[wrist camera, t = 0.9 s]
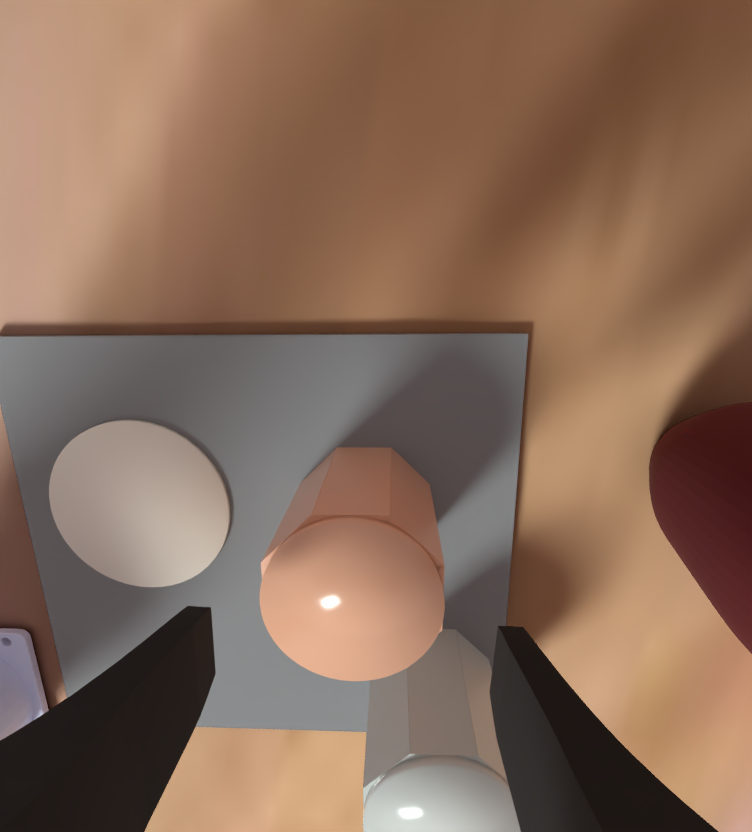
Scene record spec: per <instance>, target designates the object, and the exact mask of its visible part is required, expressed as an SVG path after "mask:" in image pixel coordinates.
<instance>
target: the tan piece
mask: <svg viewBox="0 0 752 832" xmlns="http://www.w3.org/2000/svg"><path fill="white" fill-rule="evenodd" d="M444 567H445V566H444V560H443V555H442V549H441V543H440V538H439V532H438V527H437V521H436V516H435V510H434V505H433V499H432V494H431V488H430V484H429V483H428V482H427V481H426V480H425V479H424V478H423V477H422V476H421V475H420V474H419V473H418V472H417V471H416V470H415V469H414V468H412V467H411V466H410V465H409V464H408V463H407V462H406V461H405V460H404V459H403V458H402V457H401V456H400V455H399V454H398V453H397V452H396V451H395V450H394V449H393V448H382V447H337V448H336V449H335V450H334V451H333V452H331V453H330V454H329V455H328V456H327V457H326V458H325V459H324V460H323V461H322V462H321V463H320V464H319V465H318V466H317V467H316V468H315V469H314V470H313V471H312V472H311V473H310V474H309V475H308V476H307V477H306V478H305V479H304V480H303V481H302V482H301V483H300V485H299V487H298V489H297V491H296V493H295V495H294V497H293V499H292V501H291V503H290V505H289V507H288V509H287V511H286V513H285V515H284V517H283V519H282V521H281V523H280V525H279V527H278V529H277V531H276V533H275V535H274V537H273V539H272V541H271V543H270V545H269V547H268V549H267V551H266V553H265V555H264V557H263V559H262V561H261V573H262V582H261V587H260V609H261V614H262V618H263V621H264V624H265V626H266V628H267V630H268V632H269V634H270V636H271V637H272V639H273V640H274V642H275V643H276V644H277V646H278V647H279V648H280V649H281V650H282V651H283V652H284V653H285V654H286V655H287V656H288V657H289V658H290V659H292V660H293V661H295V662H296V663H297V664H299V665H300V666H302V667H304V668H306V669H307V670H309V671H312V672H314V673H316V674H319V675H322V676H325V677H328V678H332V679H338V680H344V681H368V680H375V679H380V678H384V677H388V676H390V675H393V674H395V673H398V672H400V671H402V670H404V669H406V668H408V667H409V666H410V665H412V664H413V663H415V662H416V661H417V660H418V659H420V658H421V657H422V656H423V655H424V654H425V653H426V652H427V650H428V649H429V648H430V647H431V646H432V644H433V642H434V641H435V639H436V638H437V636H438V634H439V633H440V632H441V631H442V626H443V618H444V610H445V601H444Z"/></svg>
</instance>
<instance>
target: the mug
mask: <svg viewBox="0 0 752 832" xmlns="http://www.w3.org/2000/svg"><path fill="white" fill-rule="evenodd" d="M649 482H650V494H651V501H652V506H653V509H654V513H655V516H656V518H657V521H658V523H659V525H660V527H661V529H662V531H663V533H664V534H665V536H666V538H667V539H668V541H669V542H670V544H671V545H672V547H673V548H674V549H675V551H676V552H677V554H678V555H679V557H680V558H681V560H682V561H683V562H684V564H685V565H686V567H687V568H688V570H689V571H690V573H691V574H692V576H693V577H694V578H695V580H696V581H697V583H698V584H699V586H700V587H701V589H702V590H703V591H704V593H705V594H706V596H707V597H708V599H709V600H710V602H711V603H712V605H713V606H714V607H715V609H716V610H717V612H718V613H719V614H720V616H721V617H722V618H723V620H724V621H725V623H726V624H727V625H728V627H729V628H730V629H731V630H732V632H733V633H734V634H735V635H736V637H737V638H738V639H739V640H740V641H741V642H742V644H743V645H744V646H745V647H746V648H747V649H748V650H749V651H750V652H751V653H752V402H749V403H740V404H734V405H729V406H725V407H721V408H717V409H714V410H710V411H708V412H705V413H702V414H699V415H697V416H694V417H691V418H689V419H686V420H684V421H682V422H680V423H678V424H676V425H675V426H673V427H672V428H671V429H669V430H668V431H667V432H666V433H665V434H664V435H663V436H662V437H661V439H660V440H659V441H658V443H657V444H656V446H655V448H654V450H653V452H652V455H651V459H650V464H649Z"/></svg>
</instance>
